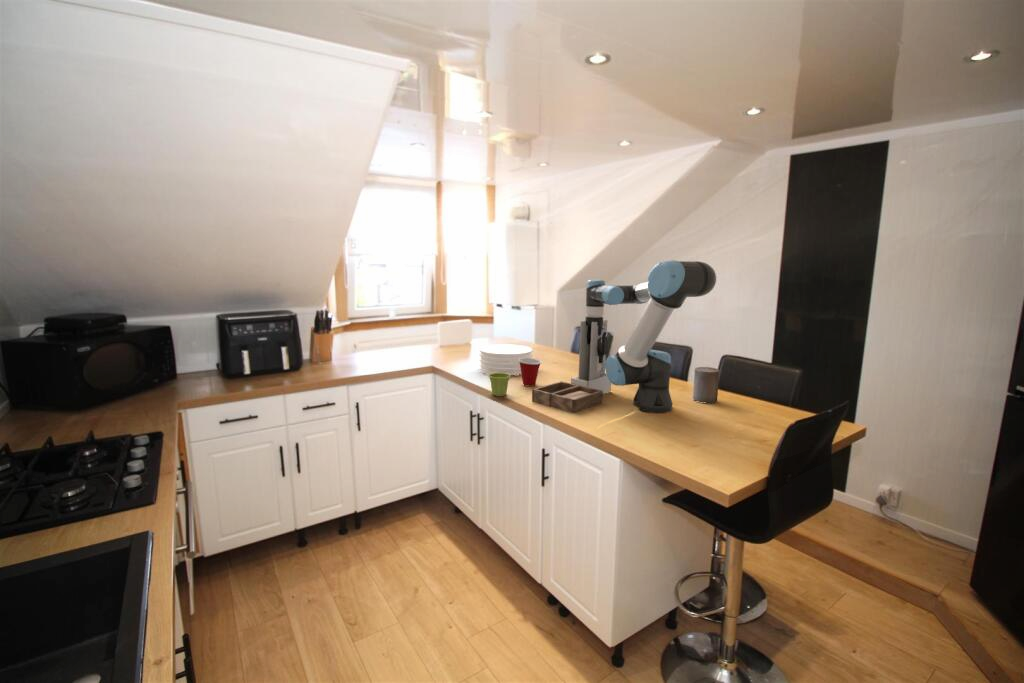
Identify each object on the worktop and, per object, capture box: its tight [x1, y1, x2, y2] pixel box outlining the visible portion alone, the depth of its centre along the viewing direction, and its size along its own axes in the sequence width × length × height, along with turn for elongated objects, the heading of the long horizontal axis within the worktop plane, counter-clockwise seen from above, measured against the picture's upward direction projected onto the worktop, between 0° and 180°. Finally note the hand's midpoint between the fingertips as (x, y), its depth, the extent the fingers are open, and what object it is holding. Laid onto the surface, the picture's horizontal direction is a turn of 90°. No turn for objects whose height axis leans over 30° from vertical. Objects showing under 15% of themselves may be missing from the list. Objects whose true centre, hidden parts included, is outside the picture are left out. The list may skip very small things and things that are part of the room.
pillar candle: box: [692, 365, 720, 404], centre depth 193 cm, size 10×10×15 cm
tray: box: [531, 380, 604, 414], centre depth 185 cm, size 21×19×6 cm
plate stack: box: [479, 344, 533, 376], centre depth 245 cm, size 28×28×12 cm
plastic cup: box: [519, 357, 542, 387], centre depth 215 cm, size 11×11×12 cm
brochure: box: [578, 319, 608, 381], centre depth 199 cm, size 14×6×30 cm, turn 143°
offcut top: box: [562, 391, 590, 399], centre depth 182 cm, size 8×14×2 cm, turn 132°
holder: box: [570, 373, 612, 395], centre depth 201 cm, size 9×18×8 cm, turn 136°
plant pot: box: [488, 373, 511, 397], centre depth 198 cm, size 9×9×9 cm
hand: (592, 368), depth 199 cm, fingers closed on brochure, 6 cm apart
